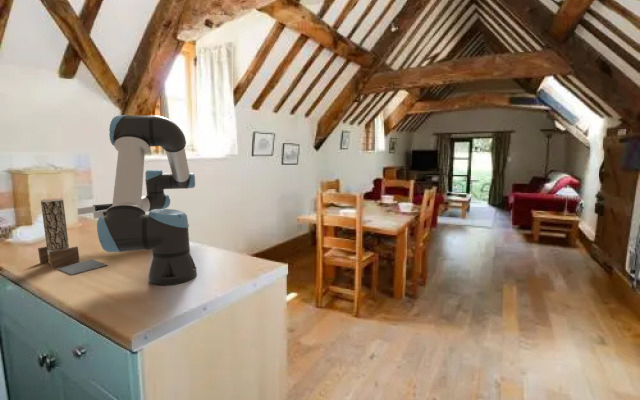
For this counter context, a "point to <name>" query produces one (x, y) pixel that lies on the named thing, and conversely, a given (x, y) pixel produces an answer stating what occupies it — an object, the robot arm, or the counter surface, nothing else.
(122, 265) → the counter surface
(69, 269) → the mat
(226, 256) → the counter surface
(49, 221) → the paper tube
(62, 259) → the board
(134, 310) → the counter surface
